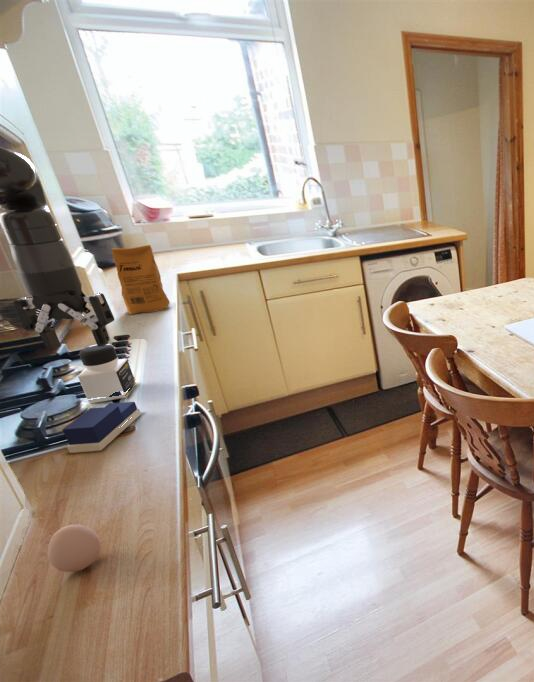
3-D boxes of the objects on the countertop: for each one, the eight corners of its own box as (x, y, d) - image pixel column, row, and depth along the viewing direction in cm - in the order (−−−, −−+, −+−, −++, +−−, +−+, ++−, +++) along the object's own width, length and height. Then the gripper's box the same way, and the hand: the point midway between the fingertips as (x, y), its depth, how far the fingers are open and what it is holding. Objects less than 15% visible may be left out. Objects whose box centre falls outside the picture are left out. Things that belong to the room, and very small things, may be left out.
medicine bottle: (127, 398, 107) (108, 350, 102) (88, 404, 104) (68, 355, 100) (137, 384, 113) (120, 338, 108) (100, 389, 110) (82, 343, 106)
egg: (56, 588, 61) (34, 550, 58) (61, 562, 65) (41, 525, 62) (106, 569, 64) (87, 532, 61) (108, 545, 68) (91, 509, 65)
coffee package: (130, 307, 165) (109, 245, 156) (172, 302, 170) (154, 242, 162) (124, 316, 157) (101, 251, 148) (168, 310, 162) (149, 247, 154)
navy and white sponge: (101, 450, 89) (91, 428, 87) (69, 453, 88) (59, 430, 86) (141, 414, 100) (133, 394, 98) (114, 416, 100) (105, 395, 98)
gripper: (102, 259, 90) (130, 337, 96) (18, 263, 88) (52, 341, 94) (75, 269, 83) (107, 352, 89) (-17, 273, 81) (23, 357, 87)
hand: (79, 346), depth 92 cm, fingers open, 8 cm apart
